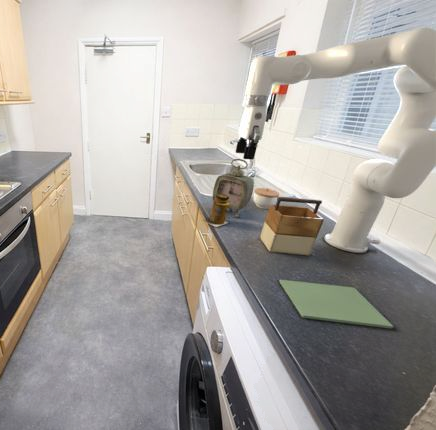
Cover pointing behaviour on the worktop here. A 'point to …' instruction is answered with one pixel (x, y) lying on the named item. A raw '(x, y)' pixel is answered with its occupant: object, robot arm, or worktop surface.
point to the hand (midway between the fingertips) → (244, 155)
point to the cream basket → (286, 242)
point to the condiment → (218, 211)
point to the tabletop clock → (235, 188)
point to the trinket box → (265, 197)
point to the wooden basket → (294, 218)
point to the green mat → (333, 304)
